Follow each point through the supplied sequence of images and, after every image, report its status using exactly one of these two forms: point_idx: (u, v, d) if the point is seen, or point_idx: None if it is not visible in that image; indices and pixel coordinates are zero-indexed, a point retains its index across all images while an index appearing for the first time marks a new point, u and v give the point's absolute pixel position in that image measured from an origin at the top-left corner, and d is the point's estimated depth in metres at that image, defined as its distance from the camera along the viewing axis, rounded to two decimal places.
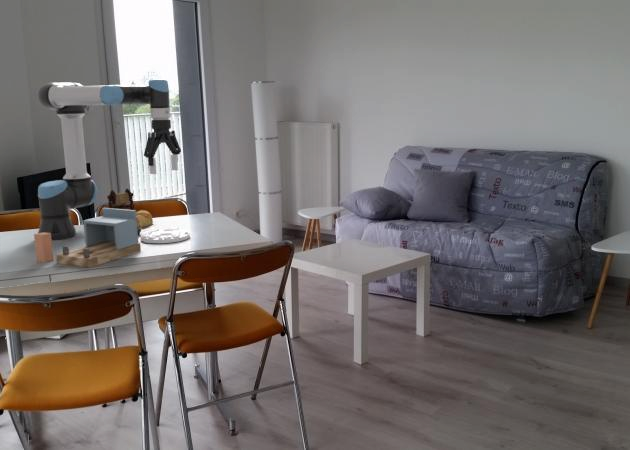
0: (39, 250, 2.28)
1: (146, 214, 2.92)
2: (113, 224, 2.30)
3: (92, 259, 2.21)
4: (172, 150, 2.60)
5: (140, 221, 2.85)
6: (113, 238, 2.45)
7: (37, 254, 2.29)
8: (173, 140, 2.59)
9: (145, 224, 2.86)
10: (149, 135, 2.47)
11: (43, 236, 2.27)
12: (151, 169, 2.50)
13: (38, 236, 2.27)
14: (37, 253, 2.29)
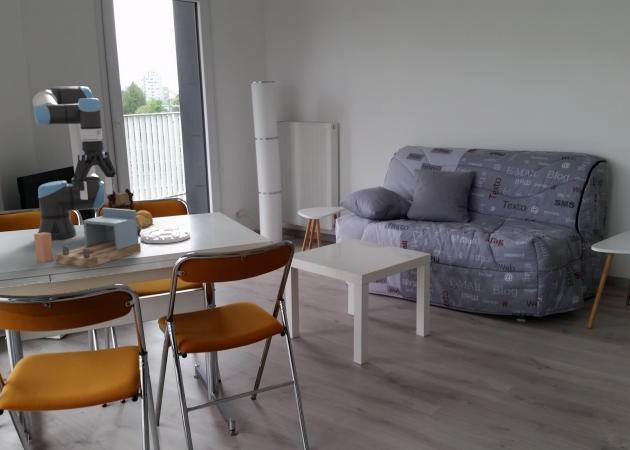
0: (39, 250, 2.28)
1: (146, 214, 2.92)
2: (113, 224, 2.30)
3: (92, 259, 2.21)
4: (106, 173, 2.43)
5: (140, 221, 2.85)
6: (113, 238, 2.45)
7: (37, 254, 2.29)
8: (107, 162, 2.43)
9: (145, 224, 2.86)
10: (79, 158, 2.31)
11: (43, 236, 2.27)
12: (82, 194, 2.33)
13: (38, 236, 2.27)
14: (37, 253, 2.29)
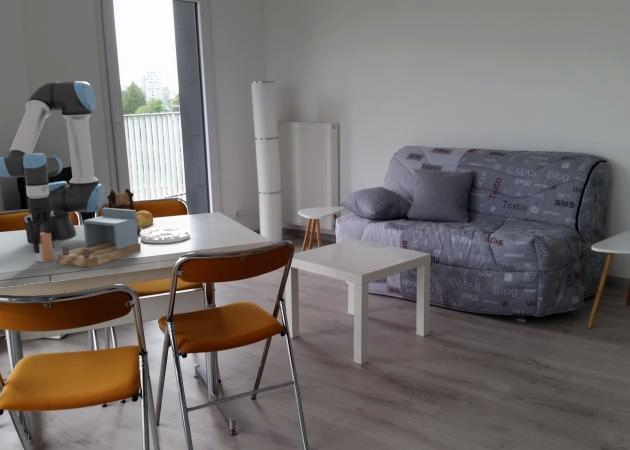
0: None
1: (146, 214, 2.92)
2: (113, 224, 2.30)
3: (92, 259, 2.21)
4: None
5: (140, 221, 2.85)
6: (113, 238, 2.45)
7: None
8: (52, 222, 2.32)
9: (145, 224, 2.86)
10: (25, 221, 2.22)
11: (43, 236, 2.27)
12: (37, 256, 2.28)
13: None
14: None
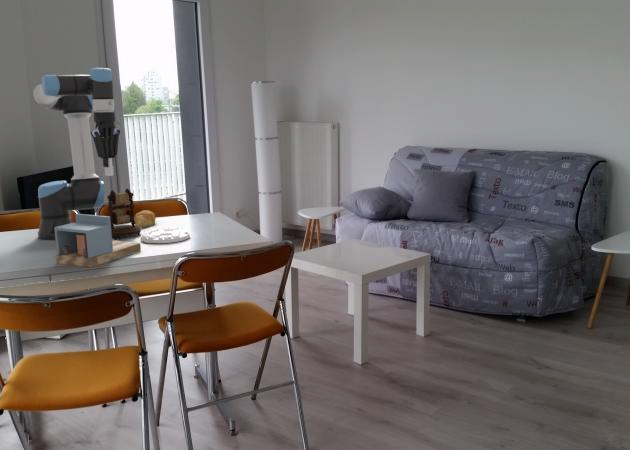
0: None
1: (148, 214, 2.91)
2: (85, 231, 2.18)
3: (92, 259, 2.21)
4: (108, 151, 2.35)
5: (139, 221, 2.84)
6: None
7: None
8: (114, 139, 2.36)
9: (144, 224, 2.85)
10: (93, 135, 2.28)
11: (77, 236, 2.26)
12: (106, 170, 2.35)
13: None
14: None
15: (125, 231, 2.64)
